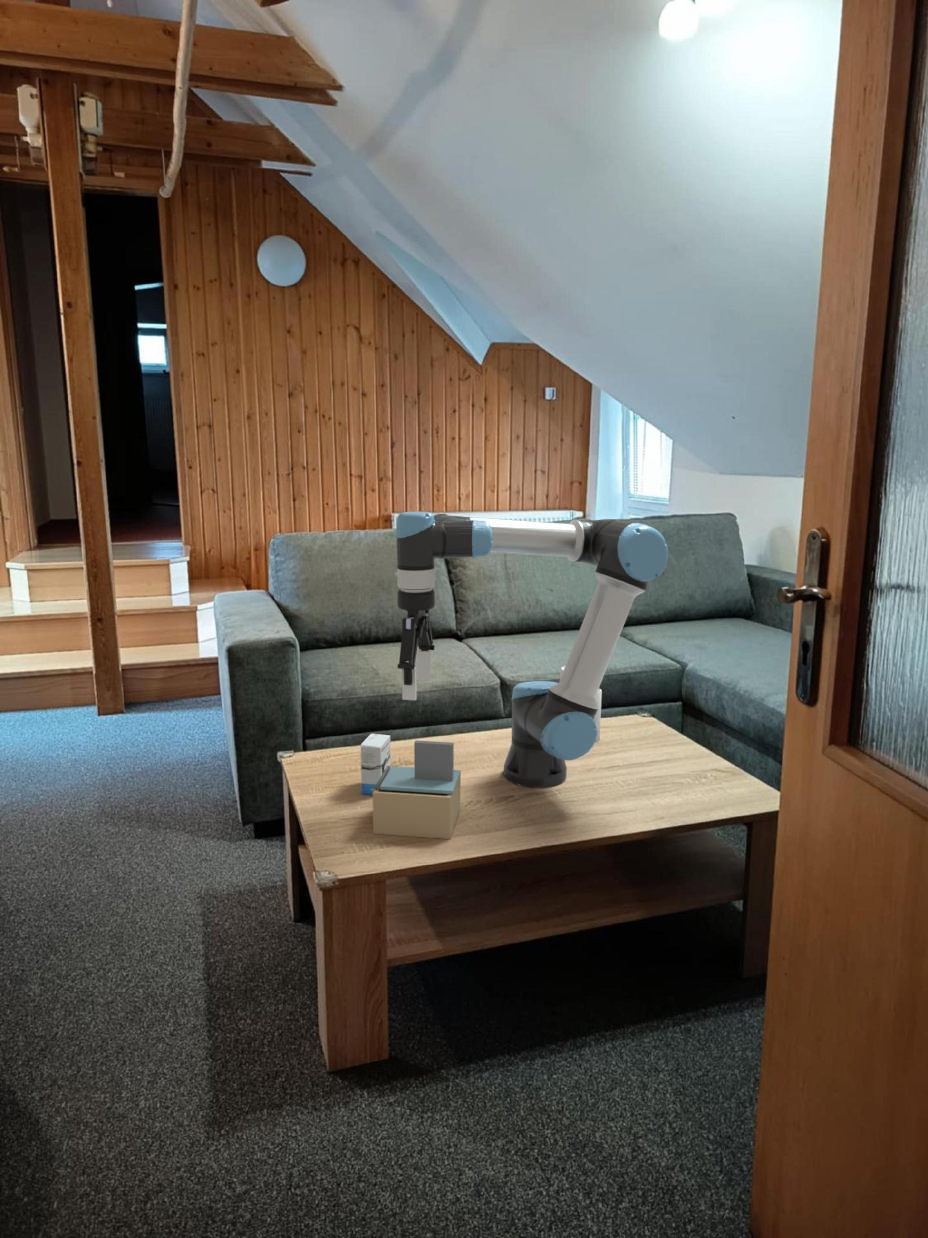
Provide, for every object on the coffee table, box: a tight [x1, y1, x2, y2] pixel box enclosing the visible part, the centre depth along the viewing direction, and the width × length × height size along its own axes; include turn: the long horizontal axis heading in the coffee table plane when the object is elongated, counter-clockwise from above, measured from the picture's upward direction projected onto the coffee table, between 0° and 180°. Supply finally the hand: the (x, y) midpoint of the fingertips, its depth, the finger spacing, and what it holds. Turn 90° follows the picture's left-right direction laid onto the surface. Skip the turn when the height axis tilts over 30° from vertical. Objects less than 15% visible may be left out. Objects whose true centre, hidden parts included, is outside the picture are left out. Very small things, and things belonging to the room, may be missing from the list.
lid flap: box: [375, 740, 462, 794], centre depth 178 cm, size 16×11×9 cm
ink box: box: [360, 733, 391, 796], centre depth 197 cm, size 8×5×12 cm, turn 168°
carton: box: [372, 766, 462, 840], centre depth 180 cm, size 16×14×9 cm
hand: (417, 689), depth 177 cm, fingers open, 13 cm apart
